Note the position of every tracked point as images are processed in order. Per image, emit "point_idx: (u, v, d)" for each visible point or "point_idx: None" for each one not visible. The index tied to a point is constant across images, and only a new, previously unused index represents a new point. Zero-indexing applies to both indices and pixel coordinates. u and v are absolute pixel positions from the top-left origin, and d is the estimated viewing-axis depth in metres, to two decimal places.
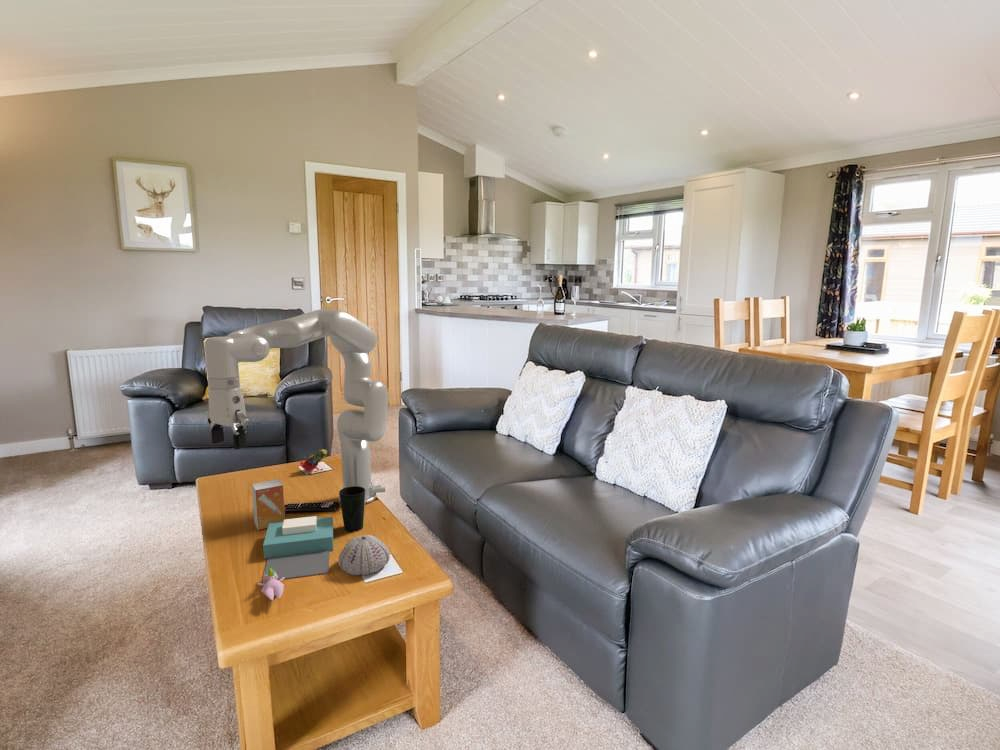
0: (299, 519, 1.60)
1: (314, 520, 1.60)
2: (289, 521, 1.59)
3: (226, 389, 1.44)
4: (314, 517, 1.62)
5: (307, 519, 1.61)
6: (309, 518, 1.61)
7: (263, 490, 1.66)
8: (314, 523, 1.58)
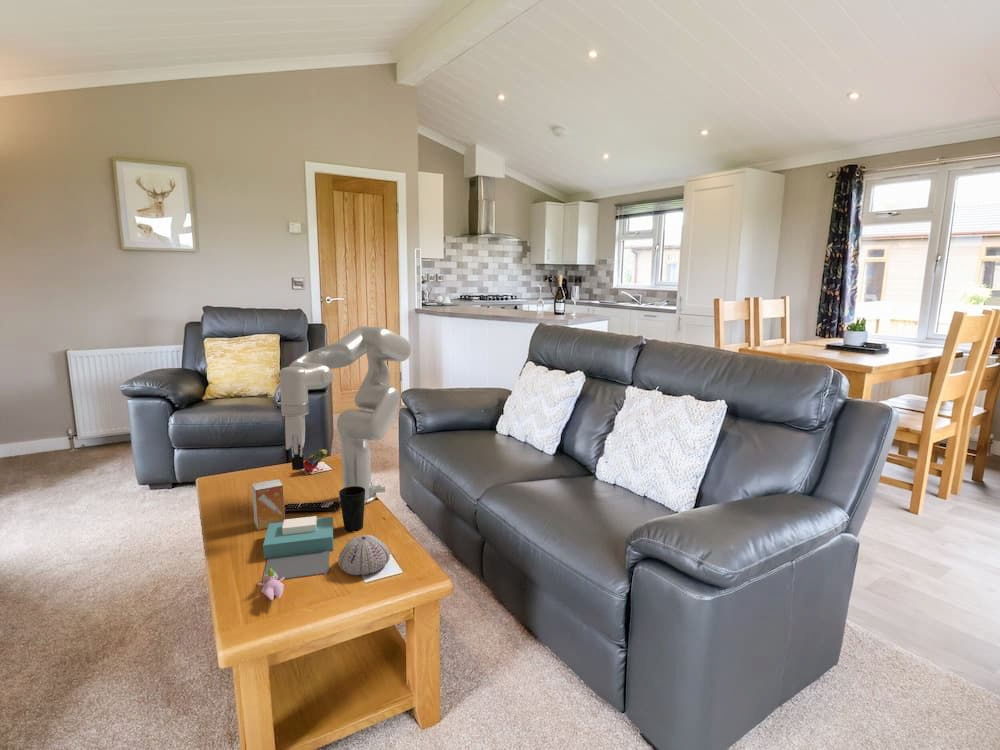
0: (299, 519, 1.60)
1: (314, 520, 1.60)
2: (289, 521, 1.59)
3: None
4: (314, 517, 1.62)
5: (307, 519, 1.61)
6: (309, 518, 1.61)
7: (263, 490, 1.66)
8: (314, 523, 1.58)
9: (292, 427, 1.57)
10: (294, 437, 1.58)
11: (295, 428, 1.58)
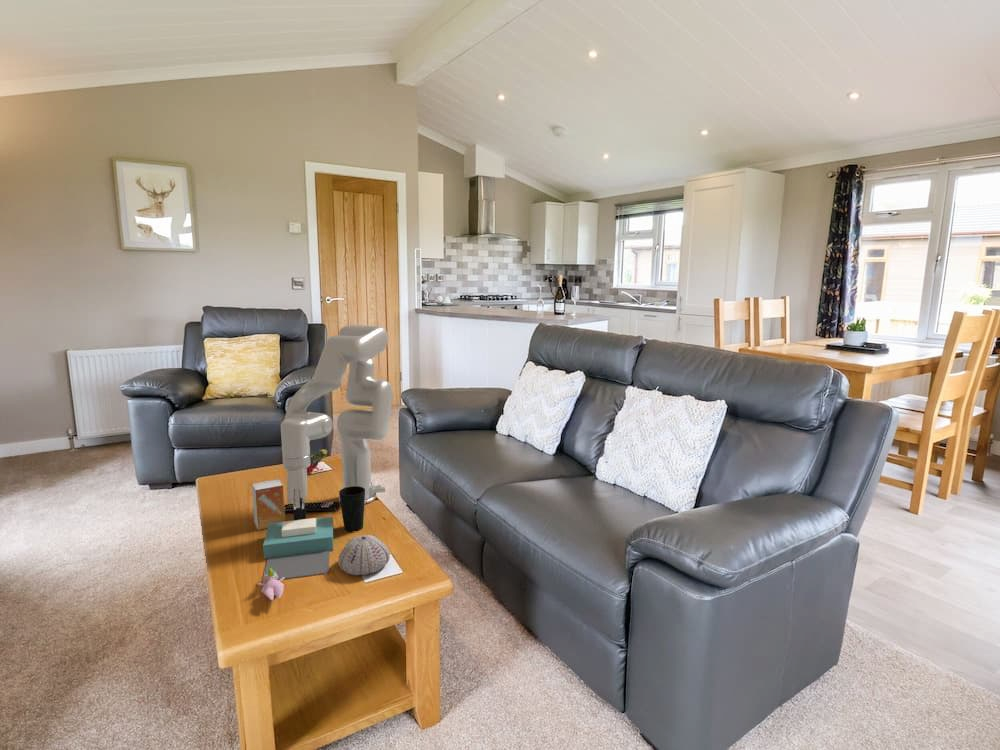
0: (298, 521, 1.59)
1: (314, 522, 1.58)
2: (288, 523, 1.58)
3: None
4: (314, 519, 1.60)
5: (306, 521, 1.59)
6: (309, 520, 1.60)
7: (263, 490, 1.66)
8: (314, 525, 1.57)
9: (294, 481, 1.55)
10: (296, 490, 1.56)
11: (297, 482, 1.55)
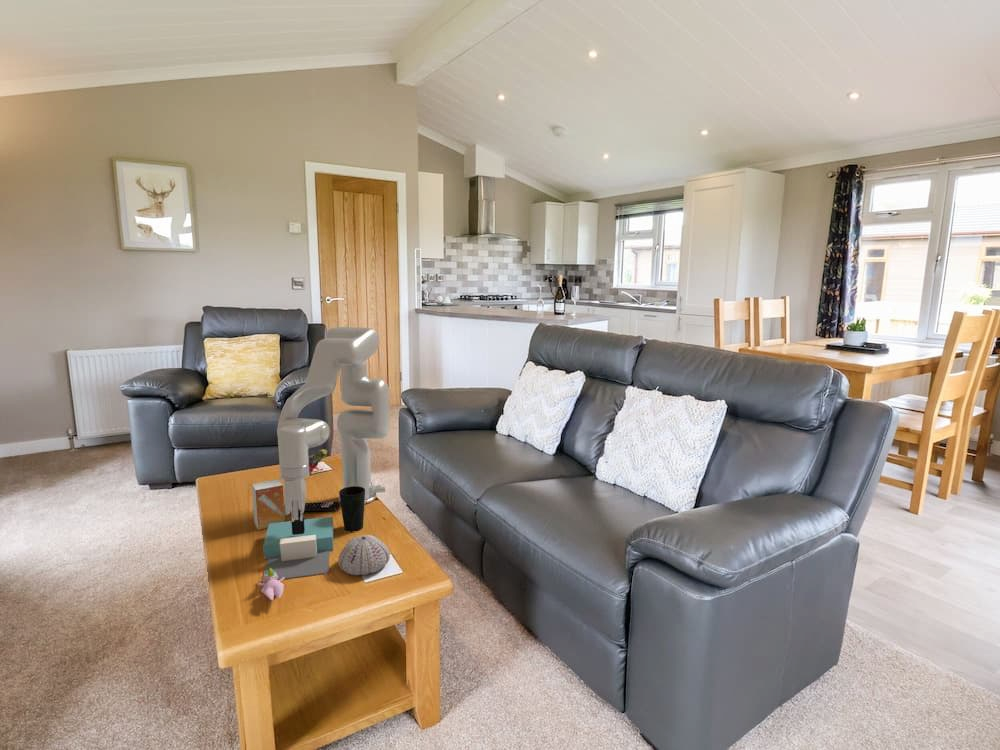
0: (297, 545, 1.47)
1: (314, 548, 1.49)
2: (286, 547, 1.47)
3: None
4: (313, 543, 1.48)
5: (305, 545, 1.48)
6: (308, 544, 1.48)
7: (263, 490, 1.66)
8: (315, 554, 1.50)
9: (292, 492, 1.47)
10: (294, 502, 1.48)
11: (295, 493, 1.47)
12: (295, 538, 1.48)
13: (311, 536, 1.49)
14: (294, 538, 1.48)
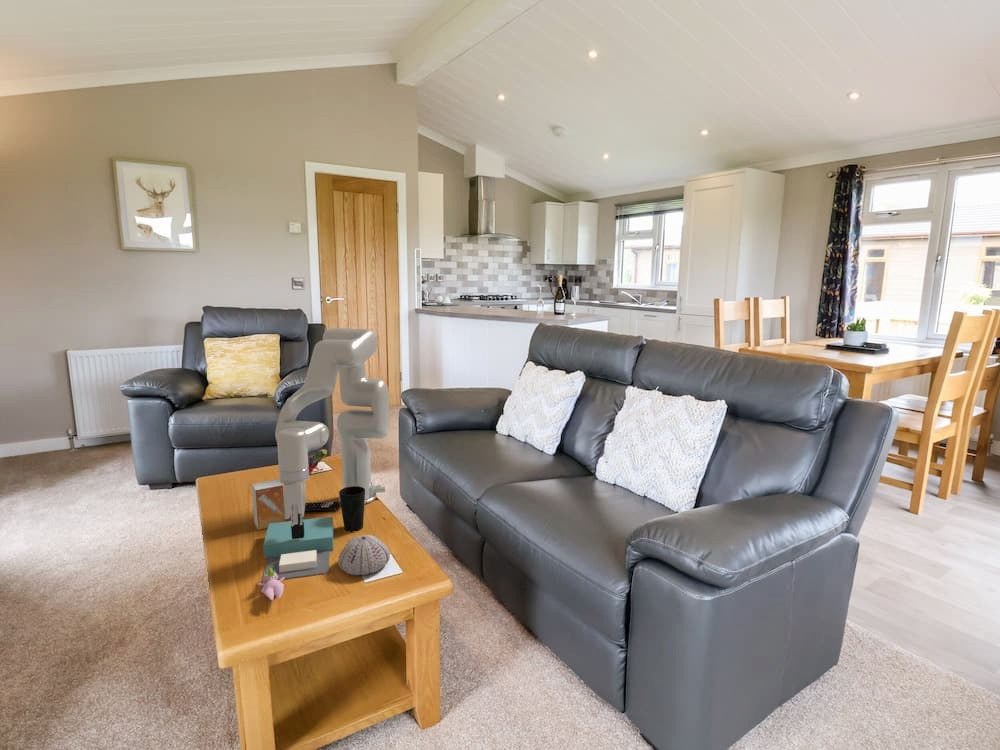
0: None
1: None
2: None
3: None
4: None
5: None
6: None
7: (263, 490, 1.66)
8: None
9: (291, 496, 1.45)
10: (293, 506, 1.46)
11: (295, 497, 1.45)
12: (295, 565, 1.43)
13: (311, 562, 1.44)
14: (294, 565, 1.43)
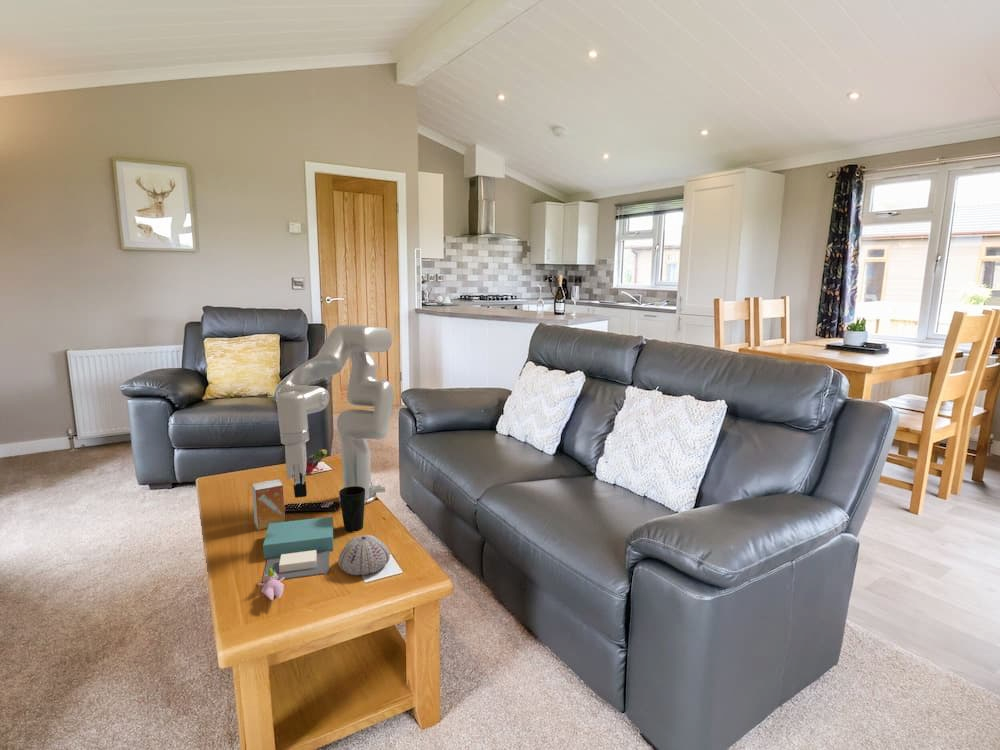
0: None
1: None
2: None
3: None
4: None
5: None
6: None
7: (263, 490, 1.66)
8: None
9: (292, 456, 1.51)
10: (295, 466, 1.52)
11: (296, 457, 1.51)
12: (295, 565, 1.43)
13: (311, 562, 1.44)
14: (294, 565, 1.43)
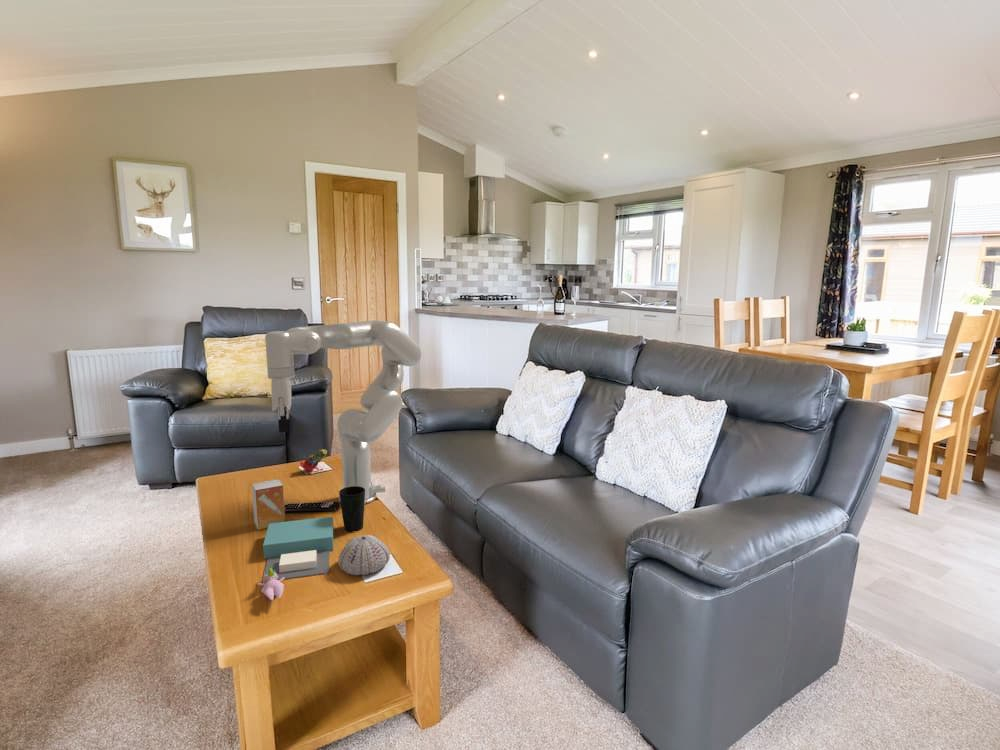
0: None
1: None
2: None
3: None
4: None
5: None
6: None
7: (263, 490, 1.66)
8: None
9: (278, 389, 1.62)
10: (280, 399, 1.63)
11: (281, 390, 1.62)
12: (295, 565, 1.43)
13: (311, 562, 1.44)
14: (294, 565, 1.43)
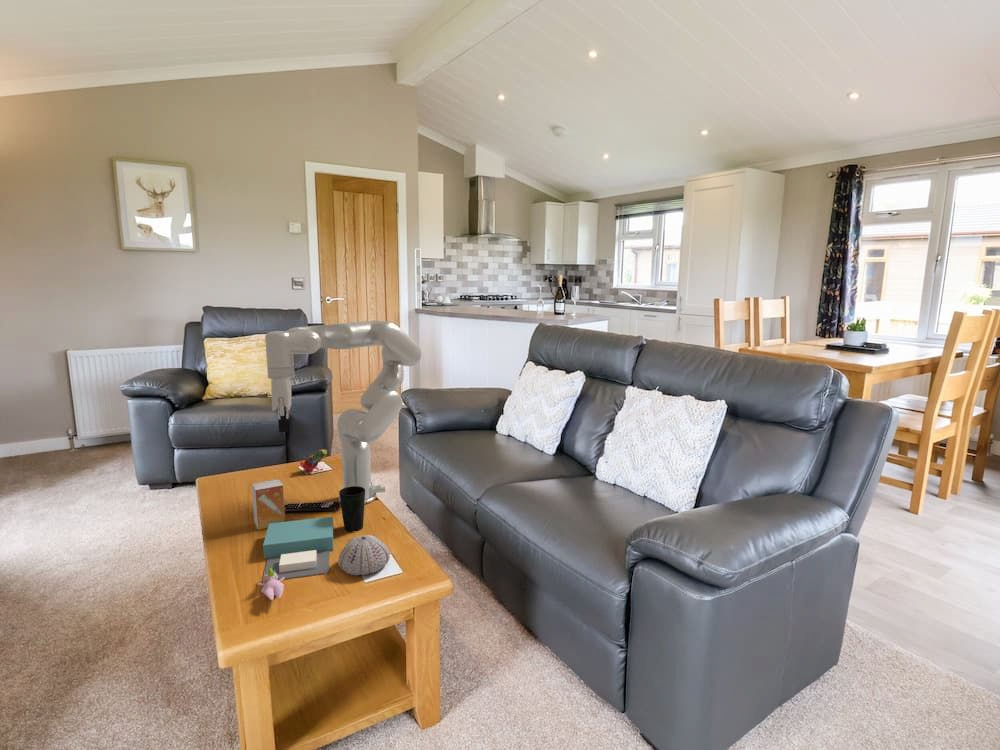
0: None
1: None
2: None
3: None
4: None
5: None
6: None
7: (263, 490, 1.66)
8: None
9: (278, 389, 1.62)
10: (280, 399, 1.63)
11: (281, 390, 1.62)
12: (295, 565, 1.43)
13: (311, 562, 1.44)
14: (294, 565, 1.43)
